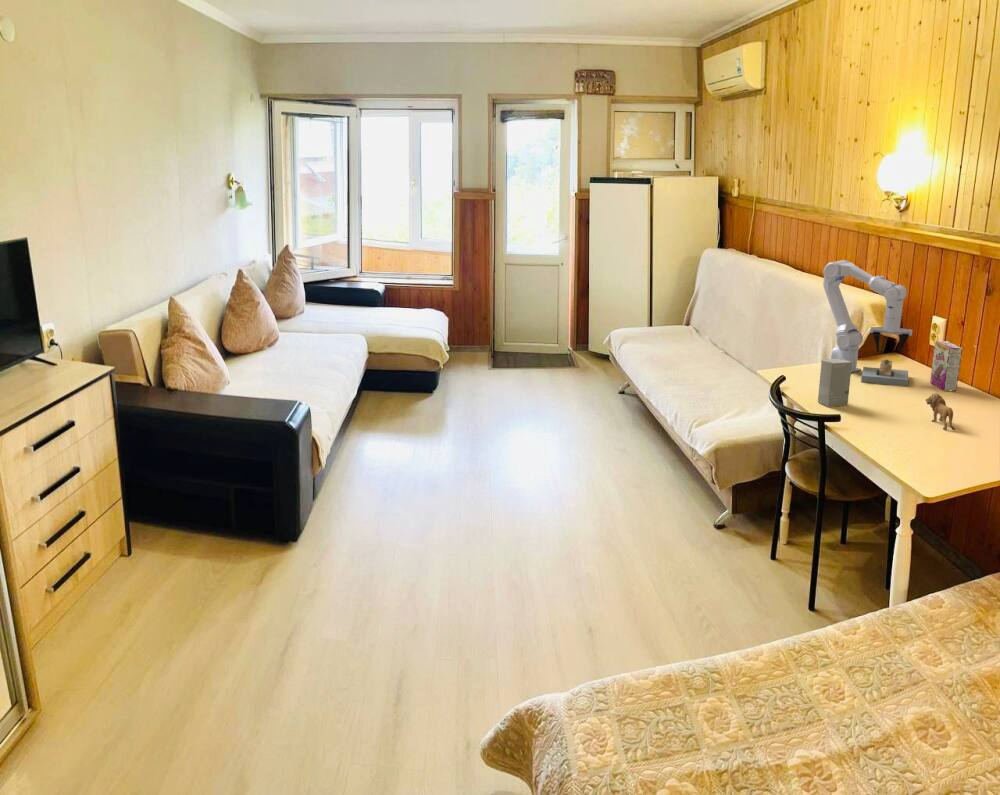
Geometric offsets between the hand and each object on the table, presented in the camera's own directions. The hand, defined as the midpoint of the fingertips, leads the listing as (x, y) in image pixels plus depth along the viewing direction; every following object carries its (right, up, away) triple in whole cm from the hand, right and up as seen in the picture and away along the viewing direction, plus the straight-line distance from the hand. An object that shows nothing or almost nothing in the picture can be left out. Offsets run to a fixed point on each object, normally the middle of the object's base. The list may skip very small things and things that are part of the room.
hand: (888, 352), depth 320 cm
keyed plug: (-1, -11, +1) cm, 11 cm away
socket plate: (-1, -10, +1) cm, 11 cm away
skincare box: (-32, -20, -26) cm, 46 cm away
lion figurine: (-6, -26, -49) cm, 56 cm away
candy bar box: (+16, -14, -10) cm, 23 cm away
